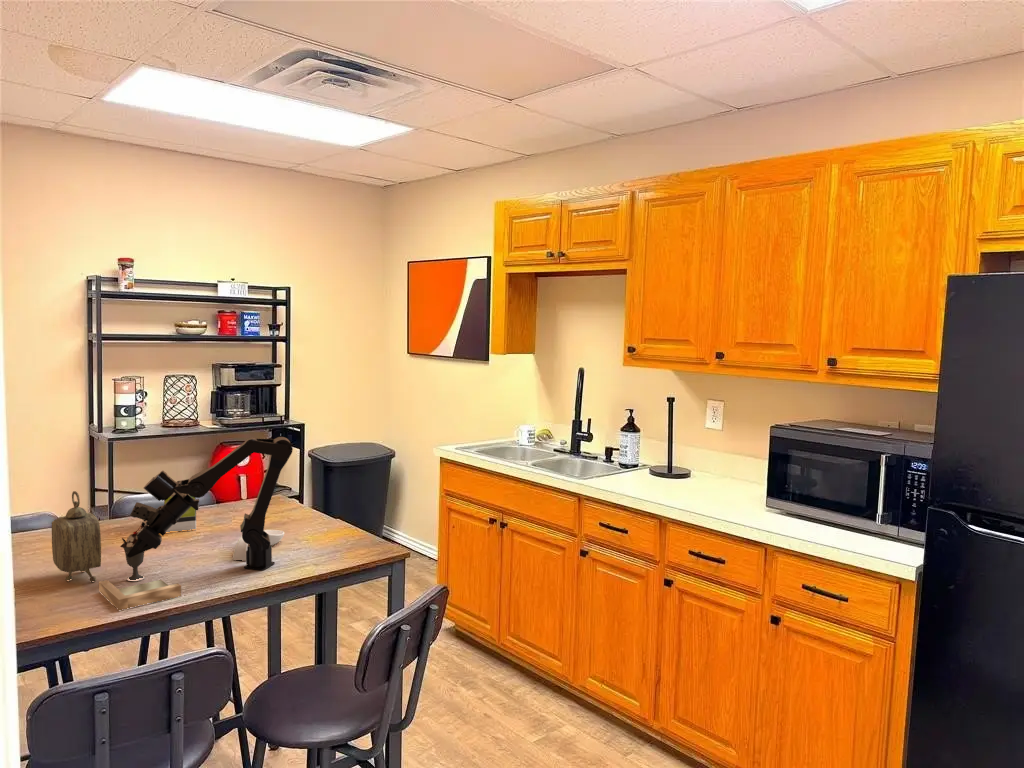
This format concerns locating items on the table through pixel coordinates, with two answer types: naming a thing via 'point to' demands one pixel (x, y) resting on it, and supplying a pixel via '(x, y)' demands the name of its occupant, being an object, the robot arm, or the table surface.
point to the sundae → (134, 560)
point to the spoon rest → (242, 546)
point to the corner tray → (138, 593)
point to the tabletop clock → (76, 541)
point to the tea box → (184, 519)
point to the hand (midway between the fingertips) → (129, 552)
